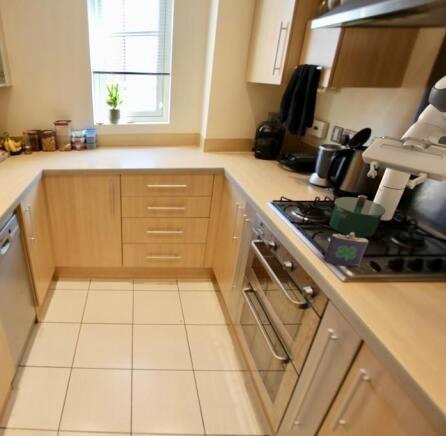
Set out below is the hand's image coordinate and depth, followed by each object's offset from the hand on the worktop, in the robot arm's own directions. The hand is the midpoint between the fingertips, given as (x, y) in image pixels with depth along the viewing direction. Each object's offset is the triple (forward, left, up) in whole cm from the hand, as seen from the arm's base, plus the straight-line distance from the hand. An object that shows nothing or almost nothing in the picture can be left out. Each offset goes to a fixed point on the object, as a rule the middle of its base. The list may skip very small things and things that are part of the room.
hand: (388, 181), depth 88 cm
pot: (+11, -15, -24) cm, 31 cm away
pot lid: (+11, -15, -16) cm, 25 cm away
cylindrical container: (+11, -34, -25) cm, 44 cm away
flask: (0, +10, -25) cm, 27 cm away
